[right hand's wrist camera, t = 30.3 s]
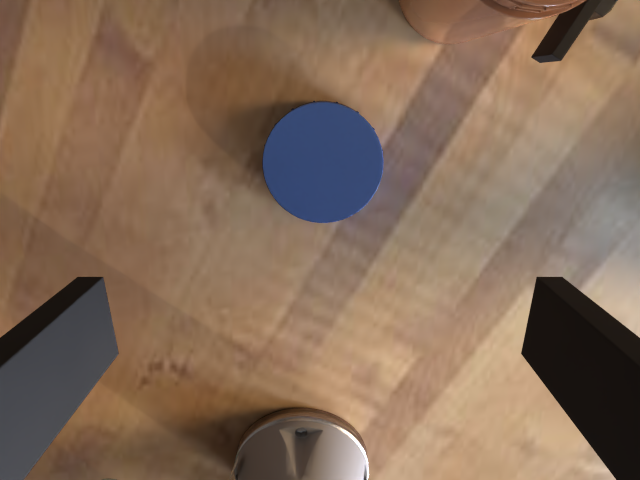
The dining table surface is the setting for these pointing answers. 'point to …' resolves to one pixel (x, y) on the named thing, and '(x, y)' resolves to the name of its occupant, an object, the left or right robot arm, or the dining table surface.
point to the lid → (322, 162)
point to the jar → (476, 16)
